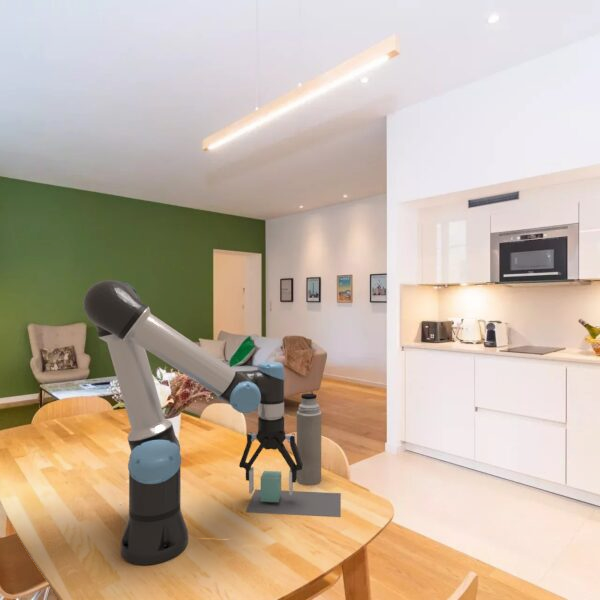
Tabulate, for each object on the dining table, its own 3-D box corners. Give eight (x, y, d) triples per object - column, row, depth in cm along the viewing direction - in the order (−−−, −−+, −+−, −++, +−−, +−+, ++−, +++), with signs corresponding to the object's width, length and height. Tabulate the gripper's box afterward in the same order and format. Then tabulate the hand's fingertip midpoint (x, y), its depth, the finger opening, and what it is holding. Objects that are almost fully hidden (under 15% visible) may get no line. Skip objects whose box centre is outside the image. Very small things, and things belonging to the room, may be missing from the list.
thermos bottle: (307, 474, 144) (308, 390, 144) (326, 481, 139) (326, 394, 138) (291, 481, 138) (291, 394, 138) (309, 489, 133) (310, 398, 133)
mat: (340, 518, 115) (340, 517, 115) (245, 513, 118) (245, 512, 118) (340, 494, 129) (340, 493, 129) (255, 490, 132) (255, 489, 132)
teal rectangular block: (278, 502, 121) (278, 478, 121) (260, 501, 122) (260, 478, 122) (281, 493, 126) (281, 471, 126) (263, 493, 127) (263, 470, 127)
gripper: (312, 413, 127) (312, 488, 127) (234, 411, 129) (234, 484, 129) (310, 421, 119) (310, 500, 119) (228, 418, 121) (228, 496, 121)
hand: (271, 492), depth 124 cm, fingers open, 11 cm apart
